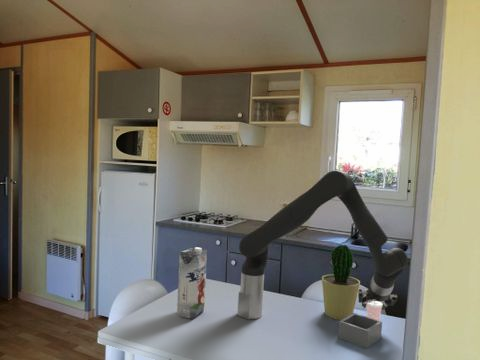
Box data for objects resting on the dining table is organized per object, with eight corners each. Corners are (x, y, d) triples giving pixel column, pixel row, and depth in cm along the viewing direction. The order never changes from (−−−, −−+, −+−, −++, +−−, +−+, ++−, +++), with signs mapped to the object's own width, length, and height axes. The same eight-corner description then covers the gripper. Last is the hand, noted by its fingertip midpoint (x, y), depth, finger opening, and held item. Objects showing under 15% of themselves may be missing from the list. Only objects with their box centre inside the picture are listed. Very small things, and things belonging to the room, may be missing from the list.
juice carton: (173, 316, 154) (177, 248, 153) (187, 307, 164) (190, 243, 162) (194, 321, 151) (197, 251, 149) (206, 311, 160) (209, 246, 159)
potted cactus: (353, 309, 172) (358, 241, 171) (361, 323, 157) (366, 249, 155) (317, 306, 174) (322, 238, 172) (321, 320, 158) (326, 246, 157)
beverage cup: (378, 330, 148) (381, 293, 147) (362, 325, 151) (365, 289, 151) (382, 325, 153) (385, 289, 153) (366, 320, 157) (369, 286, 156)
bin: (366, 348, 136) (368, 331, 135) (337, 337, 143) (339, 321, 143) (381, 337, 145) (382, 321, 144) (353, 328, 152) (354, 312, 152)
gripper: (401, 278, 143) (391, 299, 155) (360, 274, 145) (353, 295, 157) (403, 298, 138) (393, 318, 150) (361, 293, 140) (354, 313, 152)
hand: (373, 306), depth 154 cm, fingers closed on beverage cup, 6 cm apart
